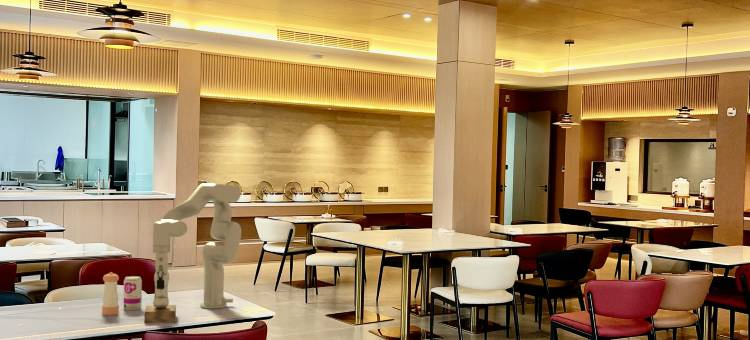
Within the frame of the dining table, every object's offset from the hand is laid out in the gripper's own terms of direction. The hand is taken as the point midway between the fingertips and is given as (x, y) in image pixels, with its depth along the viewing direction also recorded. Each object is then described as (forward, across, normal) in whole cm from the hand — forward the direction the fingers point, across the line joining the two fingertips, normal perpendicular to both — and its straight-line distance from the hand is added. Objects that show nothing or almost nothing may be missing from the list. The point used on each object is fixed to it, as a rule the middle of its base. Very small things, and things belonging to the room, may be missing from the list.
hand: (160, 287), depth 337 cm
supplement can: (+15, +26, +14) cm, 33 cm away
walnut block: (+15, 0, 0) cm, 15 cm away
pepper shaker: (+15, +16, +23) cm, 32 cm away
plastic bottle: (+10, 0, 0) cm, 10 cm away
